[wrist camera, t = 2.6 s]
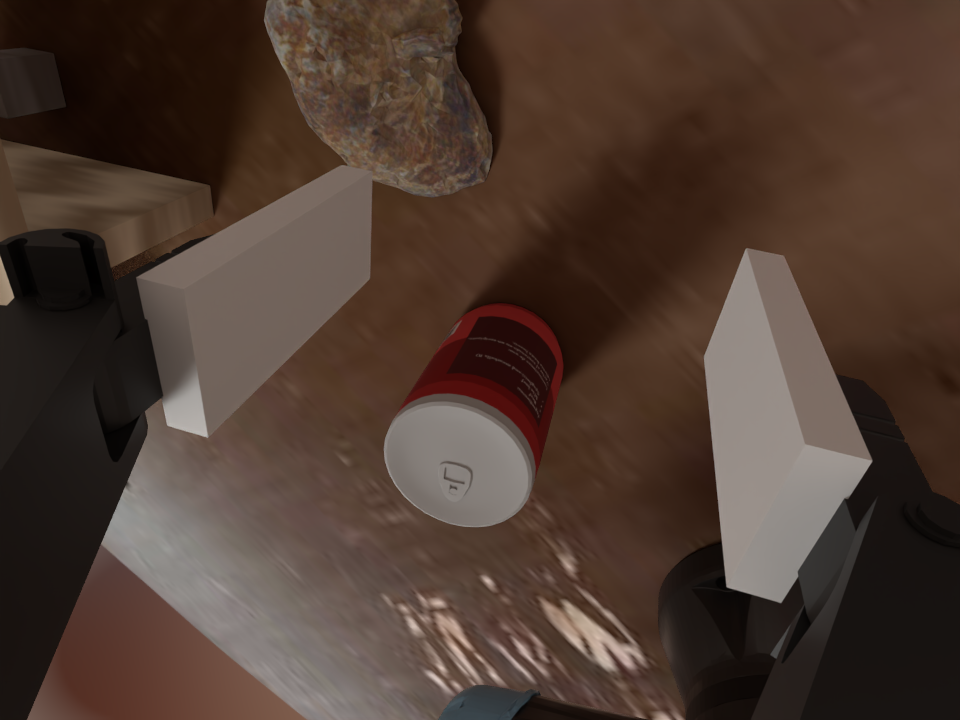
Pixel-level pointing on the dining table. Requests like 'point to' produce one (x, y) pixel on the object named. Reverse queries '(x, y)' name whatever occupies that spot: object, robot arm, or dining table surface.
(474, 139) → the oyster shell
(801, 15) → the dining table surface
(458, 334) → the canned food
